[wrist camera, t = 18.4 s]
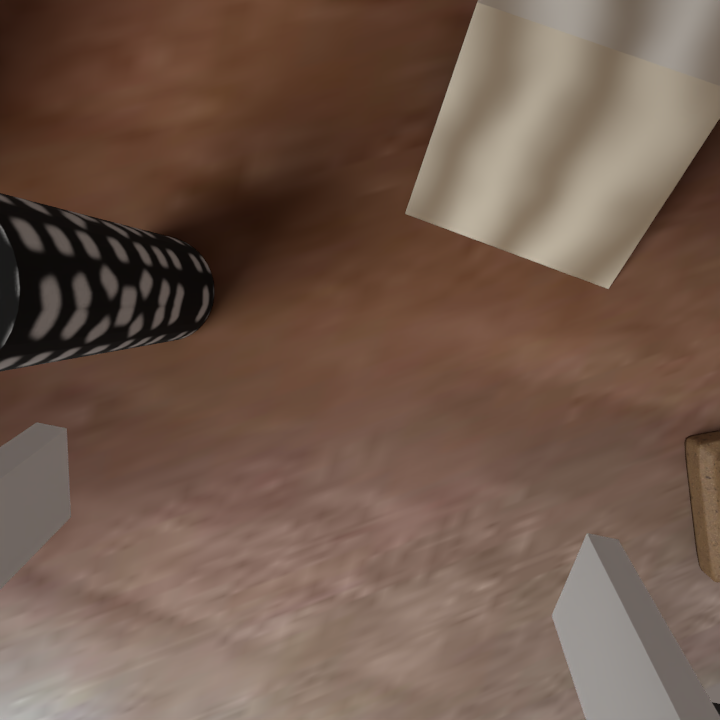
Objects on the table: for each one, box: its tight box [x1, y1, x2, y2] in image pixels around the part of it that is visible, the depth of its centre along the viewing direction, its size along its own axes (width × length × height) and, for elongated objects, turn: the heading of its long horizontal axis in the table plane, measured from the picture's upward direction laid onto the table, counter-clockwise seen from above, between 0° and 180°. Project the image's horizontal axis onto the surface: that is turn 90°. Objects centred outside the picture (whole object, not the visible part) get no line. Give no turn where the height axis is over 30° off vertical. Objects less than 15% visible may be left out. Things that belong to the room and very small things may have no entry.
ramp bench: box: [405, 0, 720, 289], centre depth 33 cm, size 16×22×8 cm
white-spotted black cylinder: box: [0, 193, 214, 371], centre depth 30 cm, size 8×8×20 cm
